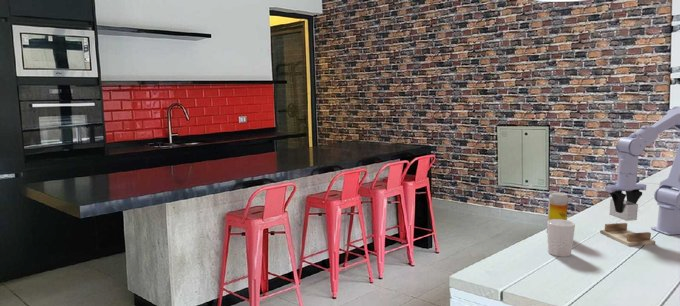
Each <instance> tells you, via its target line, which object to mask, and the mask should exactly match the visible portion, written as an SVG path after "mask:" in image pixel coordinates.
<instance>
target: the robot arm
mask: <svg viewBox="0 0 680 306" xmlns="http://www.w3.org/2000/svg"><path fill="white" fill-rule="evenodd" d="M672 127H674V128H675V129H676V130H677V132H680V106H673V107H672V108H671V109H668V110H667V112H666V114H665V115H664V116H663V117H661V118H660V119H658V120H657V121H656V122H655V123H653V124H652V125H649V124H648V125H642V126H641V127H640V128H639V129H638V130H636V131H635V132H631V134H630V135H628V136H622V137H621V138H620V139H619V140H617V142H616V144H615V150H616V152H617V158H618V166H617V167H618V168H617V177H616V178H617V180H616V182H615V184H611V185H606V186H605V192H606V193H609V194H610V197H611V199H613V202H614V206H615V211H616V212H619V213H622V209H623V202H624V200H626V201H629V202H633V203H636V204H638V201H639V199H640V198H641V197H642V196H643V192H642V191H647V184H644V183H637V179H638V168H639V155H642V153H643V152H644V151H645V149H646V147H647V146H649V145H650V144H652V143H653V142H655V141H656V140H658V137H659V134H661V133H663V132H665V131H667V130H668V129H671V128H672ZM623 192H625V193H623ZM653 196H654V200H655V202H657V205H656V206H658V213H657V214H658V215H657V223H656V226H651V227H650V229H652V230H654V231H657V232H659V233H661V234H665V235H668V236H672V235H680V143H678V147H677V150H676V152H675V156H674V160H673V162H672V166H671V168H670V171H669V175H668V177H667V178H665V179H663V180H662V181H660V182H659V185H658V187H657V188H656V189H655V191H654V195H653ZM625 198H626V199H625Z"/></svg>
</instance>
